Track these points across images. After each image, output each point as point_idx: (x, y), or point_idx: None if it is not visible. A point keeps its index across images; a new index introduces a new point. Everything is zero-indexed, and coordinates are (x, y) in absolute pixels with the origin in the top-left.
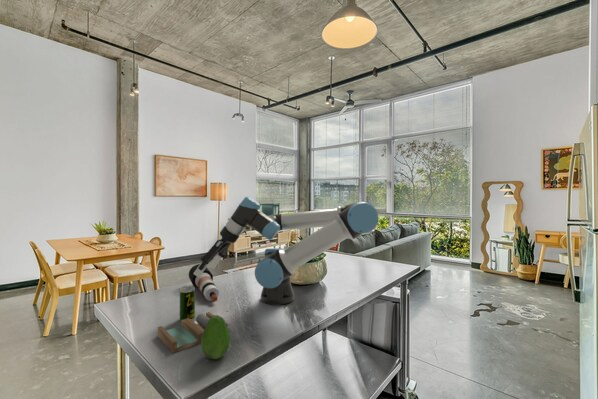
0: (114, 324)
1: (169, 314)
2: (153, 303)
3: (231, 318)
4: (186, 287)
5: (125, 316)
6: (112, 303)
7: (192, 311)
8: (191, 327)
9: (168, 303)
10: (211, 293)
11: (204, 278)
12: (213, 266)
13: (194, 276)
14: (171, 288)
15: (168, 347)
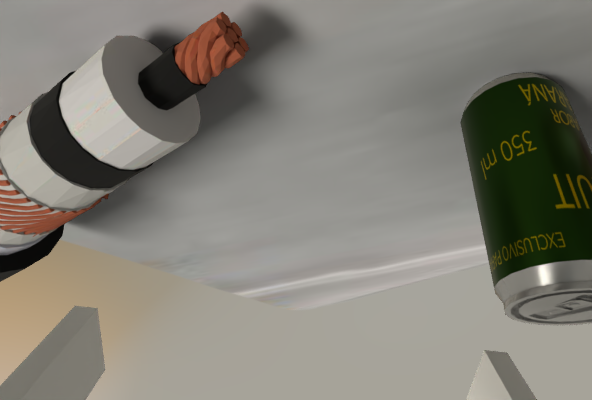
0: (456, 271)
1: (402, 188)
2: (274, 248)
3: None
4: (548, 308)
5: (393, 269)
6: (287, 301)
7: (570, 118)
8: None
9: (267, 219)
10: (177, 99)
11: (34, 220)
12: (78, 347)
13: (38, 256)
14: (105, 245)
15: None
